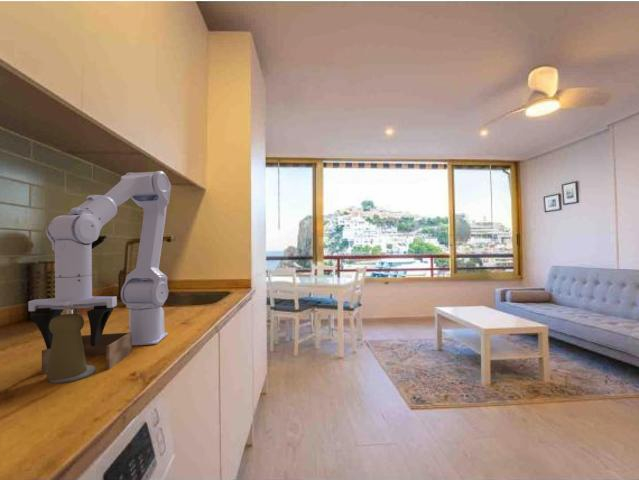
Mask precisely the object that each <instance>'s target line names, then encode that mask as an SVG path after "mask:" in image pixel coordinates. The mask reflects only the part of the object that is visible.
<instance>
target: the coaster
mask: <svg viewBox="0 0 639 480" xmlns="http://www.w3.org/2000/svg"><path fill="white" fill-rule="evenodd" d="M86 365H87V370H86V371H85V372H84V373H82V374H80V375H77V376H74V377H71V378H67V379H61V380H49V379H48V382H49V383H51V384H65V383H71V382H76V381H79V380H83V379H86V378H88V377H90V376H92V375H93V374H95V373H96V367H95V366H94V365H90V364H89V365H88V364H86Z"/></svg>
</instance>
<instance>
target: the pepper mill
mask: <svg viewBox="0 0 639 480" xmlns="http://www.w3.org/2000/svg"><path fill="white" fill-rule="evenodd" d="M84 319H85V318H84V317H83V316H82V315H81V314H79V313H66V314H61V315H60V316H57V317H54V318H53V319H52V320H51V321H50V324H49V329H50V332H51V333H52V334H53V339H52V345H51V351H50V357H49V364H48V370H47V373H46V380H48V381H49V380H61V379H67V378H71V377H74V376H77V375H80V374H82V373H84V372H85V371H86V370H87V365H88V364H87V362H86V361H87V360H86V356H85V354H84V348H83V342H82V336H81V335H82V332H81V330H82V329H83V328H84V325H85V320H84Z"/></svg>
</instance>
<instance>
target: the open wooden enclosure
mask: <svg viewBox="0 0 639 480" xmlns="http://www.w3.org/2000/svg"><path fill="white" fill-rule="evenodd" d="M90 335H91V334H81V336H82V342H83V348H84V354H85V357H86V356H100V355H106V370H110V369H112V368H113V367H114V366H115V365H117V364H118V363H119V362H121V361H122V360H123V359H124V358H126V357H127V356H129V355H130V354H131V353H132V349H133V347H132V332H131V333H129V332H118V333H116V332H114V333H102V337H101V342H100V344H98V345H96V346H91V342H90ZM50 351H51V349H47V347H46V348H44V349H42V350H41V375H44V374H47V370H48V364H49V357H50Z"/></svg>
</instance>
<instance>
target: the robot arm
mask: <svg viewBox="0 0 639 480" xmlns="http://www.w3.org/2000/svg"><path fill="white" fill-rule="evenodd" d="M171 189H172V184H171V181H170V180H169V177H168V176H167V174H166V173H165V172H164V171H162V170H157V171H147V172H146V171H144V172H127V173H125V175H122V176H120V181H119V182H118V183H117V184H114V186H113V187H112V188H111V189H109V190H108V191H107V192H106V193H105V194H104V195H102V194H89V195H88V196H86V201H84V202H83V203H81V204H80V205H78V206H77V207H72V208H70V210H69V212H68V214H67V215H57V216H55V217H54V218H53V219H52V220H51V221H50V222H49V223H48V227H47V228H45V234H46V236H47V239H48V240H49V241H50V242H51V250H52V251H53V253H54V297H53V298H41V299H37V298H36V299H33V300H29V301H28V309H27V310H28V312H34V313H31V314H30V319H31V321H32V322H33V323H34V324H35V325H36V327H37V328H38V330H39V331H40V333H41V337H42V338H43V341H44V343H45V347H46V348H47V349H51V345H52V339H53V334H52V333H51V332H50V329H49V324H50V321H51V320H52V319H53V318H54V317H57V316H60V315H62V312H63V311H62V310H70V309H71V310H72V309H75V310H76V309H89V310H87V311H86V314H87V318H88V322H89V328H90V334H89V335H90V342H91V346H96V345H98V344H100V342H101V337H102V334H104V330H105V328H106V325H107V322H108V320H109V318H110V317H111V314H112V312H113V311H114V307H117V305H118V299H117V297H118V296H116V295H115V296H103V295H101V296H98V295H97V296H96V295H95V296H94V295H93V268H92V267H93V265H92V264H93V255H92V253H93V252H92V251H93V250H92V249H93V248H92V244H93V243H94V242H95V241H97V240H98V239H99V237H100V233H101V230H102V229H103V227H104V226H105V225H106V224H108V223H109V221H111V220H112V219H113V218H115V217H116V216H117V214H118V207H119V206H121V205H123V204H124V203H125V202H126V201H128V200H129V199H131V200H132V201H133V202H134V203H135V204H136V205H137V206H138V207H140V208H142V209H143V219H142V227H141V231H140V239H139V246H138V253H137V259H136V265H135V268H134V269H133V270H131V271H130V272H129V273H128V274H127V275H126V276H125V281H124V283H123V285H122V286H121V290H120V299H121V301H122V303H123V304H125V305H126V308H127V309H128V325H129V326H128V333H131V332H132V346H144V345H149V346H150V345H157V344H159V342H161V341H162V340H163V339H164V338H165V337H166V336H168V335H169V332H165V311H164V308H163V307H162V306H163V305H164V304H165V302H166V300H168V296H169V288H168V287H169V286H168V276H167V275H166V274H165V273H163V272H162V271H161V270H160V269H159V268H160V261H161V256H162V255H161V254H162V248H163V247H162V246H163V240H164V239H163V238H164V232H165V225H166V217H167V208H168V206H169V205H170V197H171Z"/></svg>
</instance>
